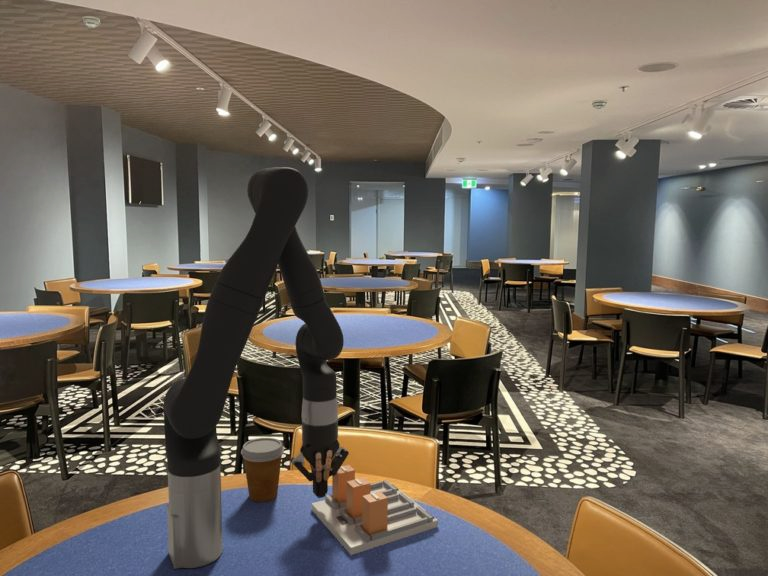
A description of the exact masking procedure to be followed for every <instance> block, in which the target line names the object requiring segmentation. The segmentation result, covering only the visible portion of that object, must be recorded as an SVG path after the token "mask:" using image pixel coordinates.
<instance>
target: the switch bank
mask: <svg viewBox="0 0 768 576" xmlns="http://www.w3.org/2000/svg"><path fill="white" fill-rule="evenodd" d="M379 491H381V492H382V493H383V494H384V495H385V496H386V497H388V525H387V530H384V531H381V532H377V533H374V534H371V537H370V536H369V535H368V534H367V533H366V532H365V531H364V530H363V529H362V516H359V517H355V518H354V520H353V519H352V518H351V517H350V516H349V515H348V514H347V501H344V502H340V503H339V505H338V504H337V503H336V501H335V500H334V499H333V498H332V493H330V495H329V494H325V497H324V498H325V499H324V500H319V501H316V502H312V503H311V504H310V505H311V510H310V511H312V513H314V515H315V514H316V515H315V516H316V517H317V518H318V519H319V520H320V521H321V523H322V524H323V525H324V526H325V527H326V529H327V530H329V531H330V533H331V534H332V535H333V537H335V539H336V538H337V542H339V543H340V544H341V545H342V547H343V546H344V547H343V548H344V549H345V550H346V551H347V552H348V554H349V555H350V556H353V555H356V554H359V553H362V552H365V551H368V550H371V549H375V548H378V547H381V546H384V545H387V544H390V543H392V542H396V541H399V540H403V539H405V538H408V537H412V536H414V535H418V534H420V533H424V532H427V531H430V530H433V529H436V528H438V527H439V520H438V519H437V518H436V517H435V516H434V515H432V514H431V513H430V512H429V511H427V510H426V509H425V508H423V506H421V505H420V504H418V503H417V502H416V501H415V500H413V499H412V498H411V497H409V496H408V495H407V494H405V493H404V492H403V491H402V490H401V489H399V488H398V487H396V486H395V485H394V484H393V483H392V482H389V481H388V480H387V479H384V480H380V481H376V482H373V483H370V494H371V493H375V492H379ZM380 545H381V546H380ZM374 547H375V548H374Z"/></svg>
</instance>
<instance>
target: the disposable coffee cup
mask: <svg viewBox="0 0 768 576" xmlns="http://www.w3.org/2000/svg"><path fill="white" fill-rule="evenodd" d="M284 452H285V447H284V446H283V443H282V441H280V440H279V439H277V438H273V437H258V438H253V439H250V440H248V441H246V442H245V443H244V444H243V445H242V449H241V451H240V454H241V456H242V458H243V463H244V464H243V465H244V471H245V478H246V483H247V484H246V485H247V490H248V496H249V499H250V500H252V501H253V502H259V503H260V502H261V503H262V502H268V501H272V500H273V499H275V498H276V497H277V496H278V491H279V482H280V476H281V475H280V474H281V467H282V466H281V465H282V455H283V453H284Z"/></svg>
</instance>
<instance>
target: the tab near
mask: <svg viewBox="0 0 768 576" xmlns="http://www.w3.org/2000/svg"><path fill="white" fill-rule="evenodd" d="M387 525H388V497H386V496H385V495H384V494H383V493H382V492H381V491H379V492H375V493H371V494H368V495H364V496H362V529H363V530H364V531H365V532H366V533H367V534H368V535H369V536H370V537H371V534H374V533H377V532H381V531H384V530H387Z"/></svg>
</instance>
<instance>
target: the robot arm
mask: <svg viewBox="0 0 768 576" xmlns="http://www.w3.org/2000/svg"><path fill="white" fill-rule="evenodd" d="M308 188H309V187H308V183H307V180H306V179H305V177H304V175H303V174H302V173H301V172H300V171H299V170H297V169H296V168H292V167H286V166H281V167H280V166H278V167H267V168H261V169H259V170H257V171H256V172H255V173H253V174H252V176H251V177H250V178H249V181H248V183H247V197H248V200H249V202H250V204H251V207H252V209H253V211H254V213H255V214H254V218H253V220H252V223H251V226H250V229H249V231H248V233H247V234H246V235H245V238H244V239H243V241H242V242H241V244H239V246H238V247H237V248H236V250H235V251H234V252H233V253H232V255H231V256H230V258H228V260H227V262H226V263H225V264H224V266H223V267H222V269H221V270H220V271H219V274H218V275H217V278H216V280H215V283H214V285H213V288H212V290H211V293H210V295H209V298H208V300H207V303H206V306H205V310H204V313H203V319H202V324H201V329H200V335H199V343H198V348H197V352H196V355H195V357H194V358H195V359H194V361H193V363H192V366H191V367H190V370H189V371H188V374H187V377H184V378H180V379H179V380H178V379H177V381H175V382H174V383H173V384H171V386H170V387H169V388H168V390H166V393H165V397H164V399H163V424H164V427H163V428H164V430H163V431H164V444H165V445H164V446H165V454H166V463H167V485H168V486H167V488H168V489H167V490H168V491H167V493H168V504H167V505H166V515H167V516H166V518H167V521H166V522H167V545H168V547H167V548H168V549H167V550H168V551H167V552H168V554H169V559H170V561H171V564H172V566H173V569H175V570H177V569H183V568H184V569H195V568H200V567H203V566H207V565H209V564H212V563H213V562H215V561H216V560H217V559H219V557H221V555H222V553H223V550H224V549H223V541H224V540H223V513H222V512H223V510H222V507H223V506H222V475H221V472H222V468H221V449H220V444H219V439H218V433H217V426H218V424H219V422H220V421H221V418H222V416H223V413H224V409H225V405H226V401H227V398H228V395H229V390H230V387H231V384H232V380H233V377H234V374H235V370H236V368H237V365H238V362H239V360H240V358H241V356H242V354H243V353H244V350H245V347H246V344H247V343H248V340H249V338H250V335H251V334H252V333H251V332H252V330H253V328H254V325H255V323H256V320H257V319H258V316H259V314H260V311H261V309H262V307H263V304H264V301H265V298H266V296H267V294H268V290H269V288H270V284H271V283H272V279H273V277H274V275H275V272H276V269H277V268H279V271H280V274H281V277H282V280H283V284H284V286H285V290H286V294H287V297H288V300H289V304H290V307H291V309H292V312H293V314H294V316H295V317H296V318H297V319H299V320H301V321H302V322H303V323H304V324H302V325H301V326H300V327H299V329H298V331H297V333H296V336H295V343H294V345H295V352H296V357H297V360H298V365H299V369H300V372H301V375H302V404H301V414H300V415H301V441H302V444H301V447H300V448H299V451H300V452H299V454H298V455H296V456H295V457H291V458H290V463H291V464H292V465H293V466H294V467H295V468H296V469H297V470H298V472H300V473H301V474H302V475H303V476H304V477H305V479H307V480H308V481H309V482H312V492H313V494H314V495H315V497H316V498H317V499H322V498H325V495H328V491H329V487H328V483H329V481H328V480H329V478H330V477H332V476H335V475H336V473H337V472H338V470H339V469H340V467H341V466H343V464H344V463H345V461H346V459H347V458H348V456H349V450H347V449H346V448H344V446H341V445H340V442H339V440H338V438H339V406H338V399H337V398H338V397H337V396H338V388H337V385H338V381H337V373H336V372H335V370H333V368H331V367H330V365H328V364H327V361H332V360H333V361H334V359H337V358H338V357H339V356H340V354H341V353H342V352H343V348H344V345H345V343H344V342H345V341H344V335H343V331H342V329H341V325H340V323H339V322H338V320H337V318H336V317H335V315H334V313H333V311H332V308H331V307H330V306H329V304H328V302H327V299H326V295H325V292H324V288H323V285H322V281H321V277H320V276H319V275H320V274H319V272H318V270H317V268H316V266H315V263H314V261H313V260H312V258H311V257H310V255H309V253H308V251H307V249H306V247H305V245H304V244H303V241H302V240H301V237H300V236H299V233H298V229H297V227H296V225H297V223H298V221H299V219H300V217H301V216H302V213H303V211H304V209H305V207H306V205H307V202H308V197H309V189H308ZM305 460H306V461H307V462H308V463H309V466H310V468H311V469H310V471H311V472H310V471H309V470H308V469H307V467H305V463H306V462H305Z"/></svg>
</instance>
